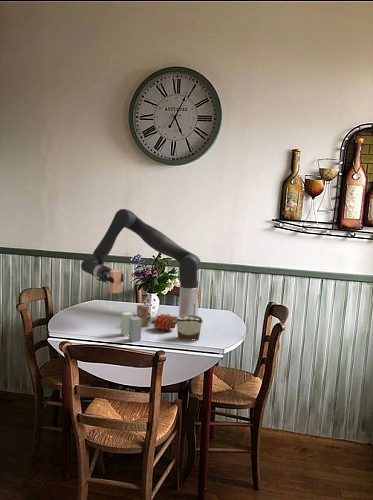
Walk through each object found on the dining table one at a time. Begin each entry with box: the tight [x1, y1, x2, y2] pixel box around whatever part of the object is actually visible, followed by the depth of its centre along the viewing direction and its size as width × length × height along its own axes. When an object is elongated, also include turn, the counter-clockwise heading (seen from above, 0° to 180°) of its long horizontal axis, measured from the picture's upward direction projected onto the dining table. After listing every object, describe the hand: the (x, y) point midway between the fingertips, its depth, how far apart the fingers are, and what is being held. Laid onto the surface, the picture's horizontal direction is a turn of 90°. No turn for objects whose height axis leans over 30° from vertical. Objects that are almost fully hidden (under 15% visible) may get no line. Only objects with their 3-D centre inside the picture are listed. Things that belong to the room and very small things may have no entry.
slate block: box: [128, 316, 142, 343], centre depth 203 cm, size 4×4×10 cm
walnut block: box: [136, 304, 149, 329], centre depth 223 cm, size 4×4×10 cm
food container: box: [175, 315, 204, 341], centre depth 210 cm, size 12×6×10 cm, turn 92°
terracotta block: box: [109, 269, 122, 294], centre depth 218 cm, size 4×4×10 cm
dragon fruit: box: [151, 313, 177, 332], centre depth 219 cm, size 8×8×12 cm
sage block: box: [120, 311, 134, 337], centre depth 210 cm, size 4×4×10 cm
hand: (117, 280), depth 216 cm, fingers closed on terracotta block, 4 cm apart
